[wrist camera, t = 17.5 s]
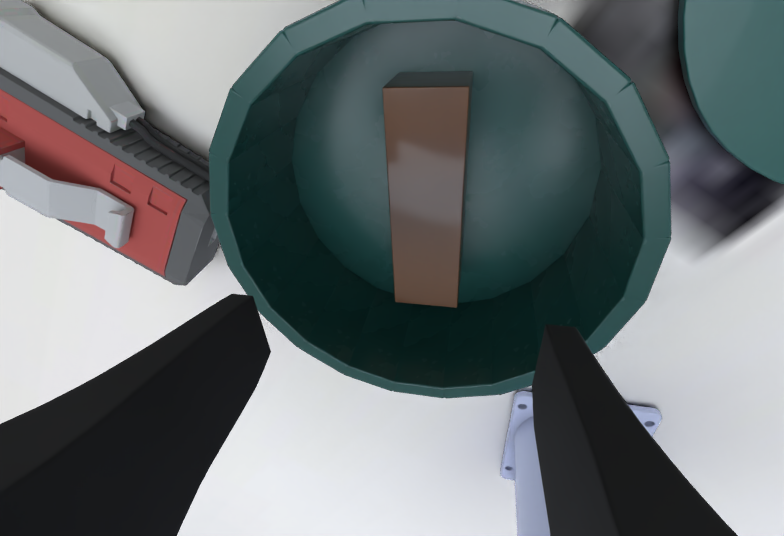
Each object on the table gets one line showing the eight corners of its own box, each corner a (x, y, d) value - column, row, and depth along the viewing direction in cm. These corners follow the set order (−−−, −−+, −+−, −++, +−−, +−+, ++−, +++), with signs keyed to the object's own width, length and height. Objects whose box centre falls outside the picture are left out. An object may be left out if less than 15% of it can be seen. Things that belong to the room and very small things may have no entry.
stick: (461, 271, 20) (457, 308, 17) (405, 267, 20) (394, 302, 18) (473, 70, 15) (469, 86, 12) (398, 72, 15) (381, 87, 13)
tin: (573, 319, 21) (598, 420, 16) (311, 294, 23) (264, 374, 19) (670, -29, 12) (783, -38, 8) (249, -2, 15) (136, 3, 10)
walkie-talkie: (280, 157, 19) (-173, -132, 16) (231, 198, 15) (-368, -166, 12) (230, 275, 24) (-119, 75, 21) (184, 326, 20) (-245, 94, 17)
